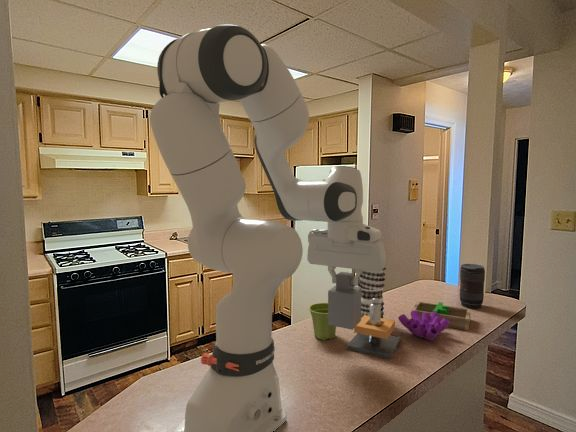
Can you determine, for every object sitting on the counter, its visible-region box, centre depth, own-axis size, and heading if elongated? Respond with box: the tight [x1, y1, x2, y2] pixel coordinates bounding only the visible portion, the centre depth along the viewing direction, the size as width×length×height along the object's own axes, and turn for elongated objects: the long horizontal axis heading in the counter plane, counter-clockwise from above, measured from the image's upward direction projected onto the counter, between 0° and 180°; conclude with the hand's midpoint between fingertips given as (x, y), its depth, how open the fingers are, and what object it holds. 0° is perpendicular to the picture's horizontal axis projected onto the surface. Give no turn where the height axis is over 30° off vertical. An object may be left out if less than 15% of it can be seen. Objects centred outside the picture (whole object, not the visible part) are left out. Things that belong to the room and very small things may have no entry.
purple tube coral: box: [398, 310, 450, 340], centre depth 109 cm, size 11×15×10 cm
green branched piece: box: [433, 301, 450, 315], centre depth 121 cm, size 10×4×4 cm, turn 147°
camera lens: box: [459, 263, 486, 310], centre depth 134 cm, size 8×8×15 cm
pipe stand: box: [346, 298, 402, 360], centre depth 102 cm, size 12×12×14 cm
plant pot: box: [308, 302, 337, 341], centre depth 109 cm, size 9×9×9 cm
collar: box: [353, 315, 396, 339], centre depth 102 cm, size 9×9×2 cm
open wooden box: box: [410, 301, 472, 331], centre depth 121 cm, size 10×17×4 cm, turn 61°
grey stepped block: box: [327, 271, 361, 331], centre depth 95 cm, size 7×7×13 cm
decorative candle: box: [357, 267, 387, 318], centre depth 119 cm, size 9×9×25 cm
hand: (344, 284), depth 94 cm, fingers closed on grey stepped block, 3 cm apart
